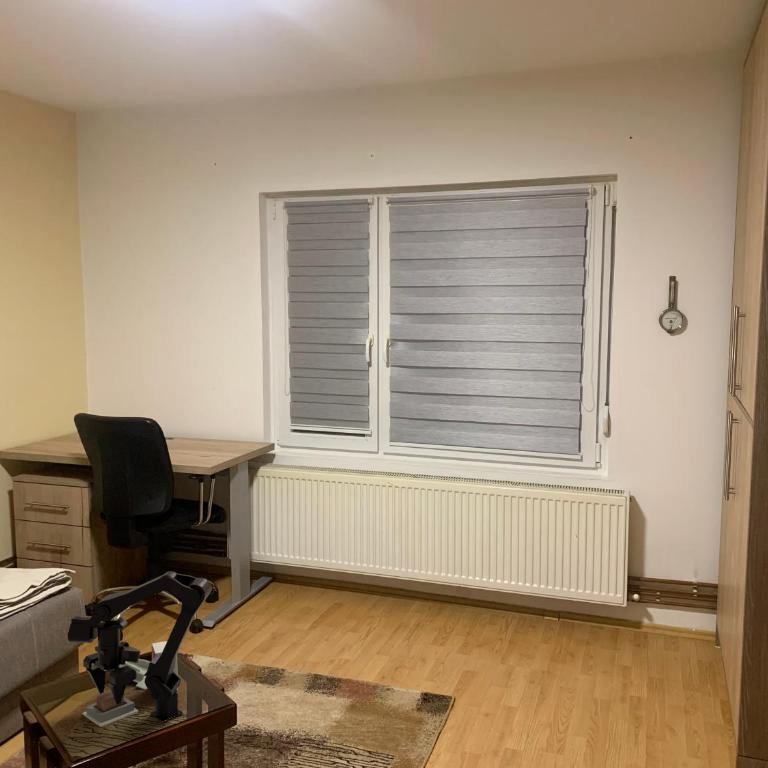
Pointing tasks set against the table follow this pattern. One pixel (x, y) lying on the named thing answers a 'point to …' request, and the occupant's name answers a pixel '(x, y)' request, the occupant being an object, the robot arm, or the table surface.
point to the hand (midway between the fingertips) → (110, 698)
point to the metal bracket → (139, 671)
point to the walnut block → (107, 701)
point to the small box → (158, 649)
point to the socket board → (110, 713)
